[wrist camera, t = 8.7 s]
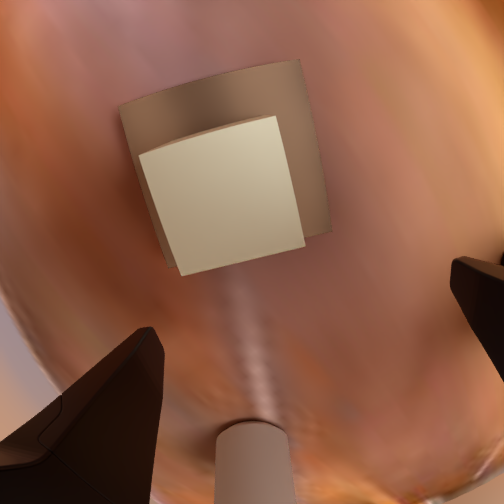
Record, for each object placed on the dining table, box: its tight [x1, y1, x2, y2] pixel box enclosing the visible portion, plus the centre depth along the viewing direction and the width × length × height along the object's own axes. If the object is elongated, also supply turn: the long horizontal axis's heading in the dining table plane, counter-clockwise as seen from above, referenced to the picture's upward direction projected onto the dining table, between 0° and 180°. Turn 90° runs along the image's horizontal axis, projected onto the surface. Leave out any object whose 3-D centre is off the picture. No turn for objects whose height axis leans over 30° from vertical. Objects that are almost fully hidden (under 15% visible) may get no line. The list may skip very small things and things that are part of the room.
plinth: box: [118, 59, 332, 268], centre depth 18 cm, size 10×10×3 cm
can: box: [214, 421, 297, 504], centre depth 25 cm, size 8×8×12 cm
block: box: [138, 115, 305, 276], centre depth 14 cm, size 5×5×6 cm
